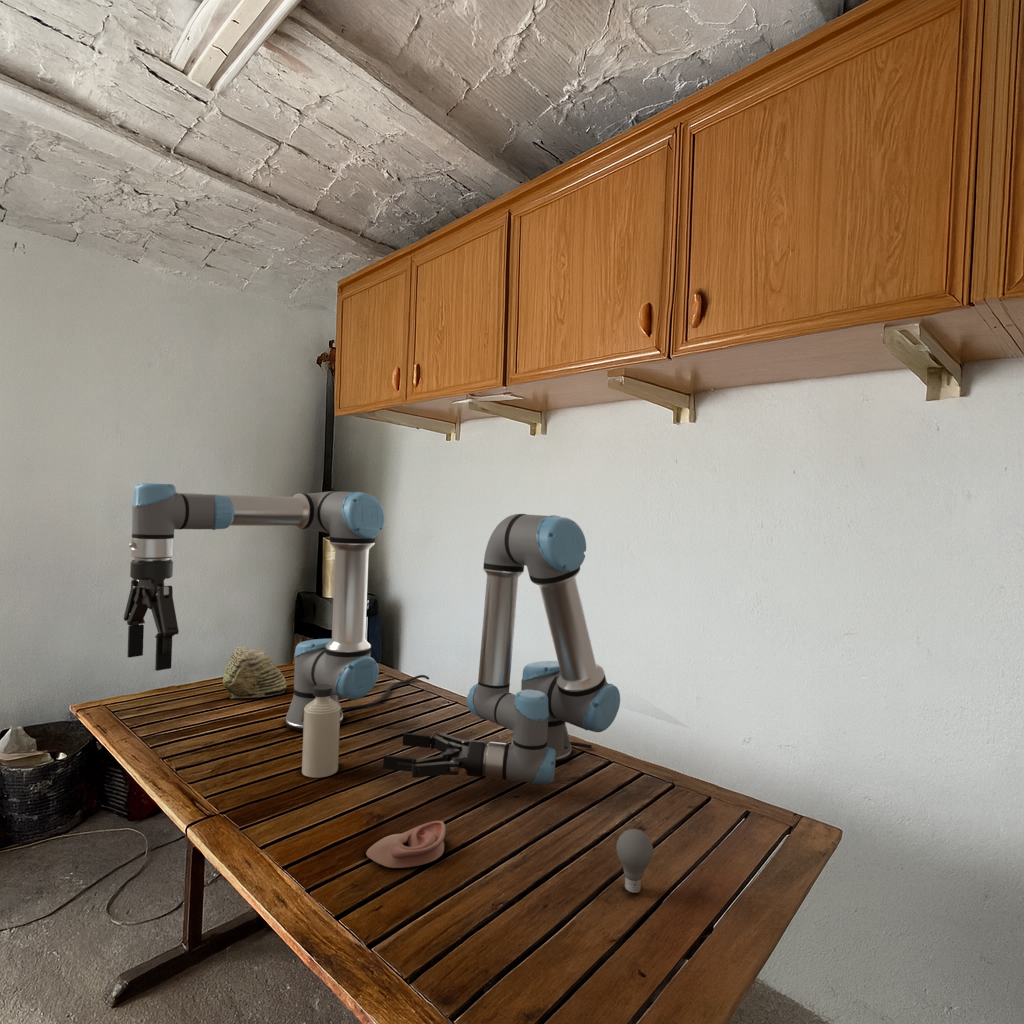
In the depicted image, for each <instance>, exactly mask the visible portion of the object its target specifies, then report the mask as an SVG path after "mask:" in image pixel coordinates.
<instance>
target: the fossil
mask: <svg viewBox="0 0 1024 1024" xmlns="http://www.w3.org/2000/svg"><path fill="white" fill-rule="evenodd" d="M222 676H223V677H222V685H223V687H224V688H225V690H226V691H228V693H229V698H230V699H250V698H264V697H271V696H275V695H281V694H284V693H285V691H286V689H287V687H288V686H287V680H286V678H285V676H284V674H283V673H282V672H281V669H279V668H278V667H277V665H276V663H275V662H274V660H273V659H272V658H271V657H270V656H269V655H268V654H267V653H266V652H265V650H264V649H263V648H260V647H258V648H251V647H247V646H246V647H245V646H238V647H237V648H236V649H235V650H233V651H232V653H231V656H230V657H229V659H228V660H227V663H226V666H225V668H224V671H223V675H222Z"/></svg>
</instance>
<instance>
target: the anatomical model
mask: <svg viewBox="0 0 1024 1024" xmlns="http://www.w3.org/2000/svg"><path fill="white" fill-rule="evenodd" d="M446 830H447V829H446V824H445V822H444V821H443V820H434V821H429V822H426V823H423V824H420V825H417V826H416V827H413V828H411V829H408V830H406V831H404V832H402V833H394V834H389V835H387V836H384V837H383V838H381V839H379V840H378V841H376V842H375V843H374V844H372V845H371V846H370V847H369V848H367V850H366V851H365V854H366V855H365V856H367V858H369V860H370V861H371V860H372V861H373V862H375V863H377V864H378V865H381V866H383V867H385V868H390V869H403V868H412V867H418V866H422V865H426V864H429V863H431V862H434V861H436V860H438V859H439V858H440V857H442V856H443V854H444V851H445V842H444V839H445V837H446V833H447V832H446Z"/></svg>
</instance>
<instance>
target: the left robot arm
mask: <svg viewBox="0 0 1024 1024" xmlns="http://www.w3.org/2000/svg"><path fill="white" fill-rule="evenodd" d="M385 515H386V513H385V511H384V508H383V505H382V503H381V502H380V501H379V500H378V498H377V497H375V495H373V494H370V493H367V492H363V491H362V492H361V491H337V490H336V491H335V490H333V491H332V490H330V491H321V492H311V493H295V494H294V495H293V496H276V495H275V496H274V495H273V496H272V495H248V494H247V495H246V494H244V495H243V494H220V493H219V494H218V493H217V494H216V493H215V494H214V493H189V492H187V493H186V492H177V491H176V486H175V485H174V484H173V483H152V482H139V483H137V484H136V485H135V486H134V488H133V492H132V501H131V520H132V521H131V542H130V543H128V547H129V548H130V549H131V550H130V556H131V558H133V559H132V560H131V561H130V567H129V568H130V571H129V574H130V575H129V576H130V578H131V581H130V590H129V594H128V598H127V603H126V607H125V610H124V615H123V621H124V622H126V624H127V626H128V629H127V630H128V631H127V658H135V657H142V656H144V635H145V634H144V630H145V625H144V624H145V623H146V621H145V619H144V618H145V616H146V615H147V612H148V609H149V610H151V613H152V618H153V620H154V624H155V627H156V631H157V633H156V635H155V636H154V638H155V661H154V663H155V665H154V668H155V669H154V670H155V671H157V672H159V671H164V670H169V669H172V659H173V657H172V655H173V637H175V636H176V635H179V632H180V631H179V625H178V619H177V615H176V614H177V613H176V609H175V603H174V597H173V595H174V593H173V585H165V580H167V579H171V578H172V577H173V575H174V573H173V572H174V561H173V560H172V559H171V558H173V557H174V554H175V553H174V552H175V530H213V531H215V530H224V529H228V528H230V526H233V527H234V526H237V527H238V526H240V527H243V526H246V527H247V526H249V527H250V526H258V527H259V526H268V527H269V526H276V527H277V526H282V527H284V526H285V527H286V526H287V527H288V526H289V527H290V526H291V527H293V528H294V529H296V530H308V531H309V530H310V531H316V532H319V533H325V534H329V544H330V545H331V546H332V547H333V548H334V550H335V551H334V572H333V573H334V577H333V599H332V625H331V626H332V627H331V638H317V639H308V640H304V641H300V642H299V643H297V645H296V646H295V650H294V655H293V657H294V672H293V673H294V674H293V695H292V696H293V697H292V699H291V702H290V704H289V708H288V711H287V713H286V715H285V726H286V728H287V729H289V730H291V731H294V732H295V731H296V732H301V733H303V722H304V708H305V706H306V705H307V704H309V703H310V702H311V701H313V700H314V699H316V696H314V695H313V687H314V686H316V685H319V684H329V685H332V686H333V695H331V696H330V698H331V699H333V700H334V701H336V702H337V703H339V705H340V707H341V710H340V725H342V723H343V722H344V714H343V711H348V710H355V709H364V708H367V707H372V706H374V705H377V704H379V703H380V702H382V701H383V700H384V699H385V698H386V697H387V696H388V694H389V693H390V691H391V690H392V689H394V688H396V687H398V686H399V685H404V684H408V683H410V682H413V681H416V680H418V679H420V678H424V679H426V680H430V677H429V676H427V675H426V674H418V675H416V676H414V677H411V678H409V679H405V680H401V681H398V682H395V683H393V684H392V685H390V686H389V687H388V688H387V689H386V691H385V692H384V693H383V695H381V697H379V699H377V700H375V701H372V702H368V703H364V704H358V705H357V704H356V705H351V706H341V702H340V699H339V698H341V699H342V700H343V699H344V700H348V701H349V700H350V701H357V700H360V699H362V698H364V697H365V696H367V695H368V694H370V692H371V690H372V689H374V687H375V685H376V683H377V682H378V678H379V674H380V672H379V671H380V670H379V669H380V668H379V665H378V663H377V662H376V660H375V659H374V657H371V652H372V649H371V648H372V644H371V643H370V642H368V640H367V639H366V631H367V607H368V606H367V605H368V604H367V602H368V582H369V581H368V579H369V555H370V553H369V552H370V550H371V548H372V547H374V545H375V544H376V536H378V535H379V534H380V533H381V530H383V528H384V526H385V522H386V521H385V520H386V516H385Z"/></svg>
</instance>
